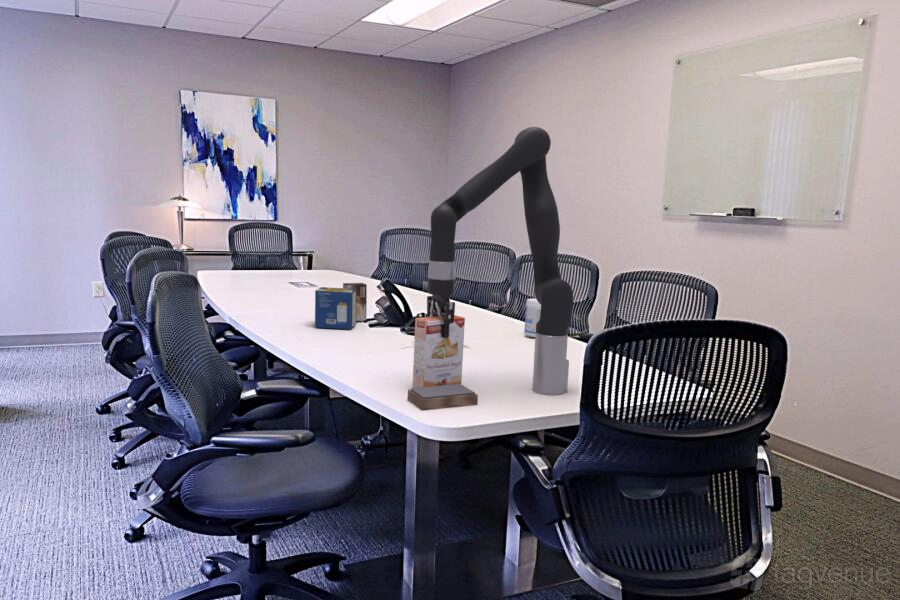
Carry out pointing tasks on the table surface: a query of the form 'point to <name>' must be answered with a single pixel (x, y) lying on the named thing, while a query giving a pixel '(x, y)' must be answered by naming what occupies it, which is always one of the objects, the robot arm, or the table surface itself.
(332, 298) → the protein box
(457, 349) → the cracker box
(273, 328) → the table surface
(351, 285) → the coffee box
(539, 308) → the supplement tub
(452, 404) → the podium
